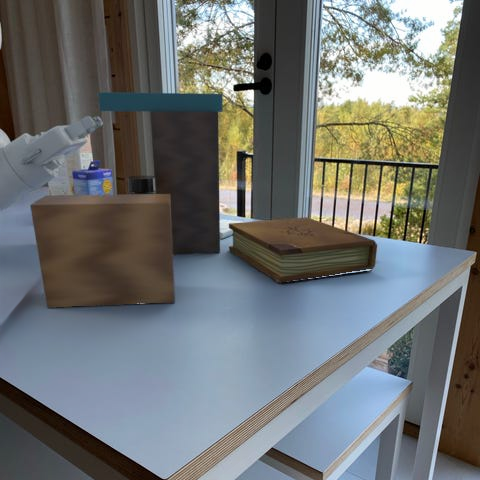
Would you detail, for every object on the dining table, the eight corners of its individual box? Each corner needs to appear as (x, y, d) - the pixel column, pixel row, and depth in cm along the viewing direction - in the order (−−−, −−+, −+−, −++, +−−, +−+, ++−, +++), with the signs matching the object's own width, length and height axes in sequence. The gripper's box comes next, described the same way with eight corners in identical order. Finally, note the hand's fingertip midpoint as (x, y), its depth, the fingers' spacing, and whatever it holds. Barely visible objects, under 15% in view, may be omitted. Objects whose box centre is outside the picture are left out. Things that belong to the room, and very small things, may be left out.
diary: (374, 272, 84) (378, 240, 81) (279, 284, 77) (281, 250, 75) (308, 242, 103) (310, 216, 101) (228, 250, 97) (228, 222, 94)
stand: (159, 254, 94) (150, 111, 83) (160, 244, 101) (152, 111, 91) (220, 253, 95) (218, 111, 85) (216, 243, 102) (214, 112, 92)
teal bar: (100, 110, 85) (98, 92, 83) (102, 111, 87) (100, 93, 86) (222, 111, 87) (222, 93, 86) (221, 111, 90) (221, 94, 89)
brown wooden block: (47, 308, 67) (29, 204, 61) (59, 289, 74) (45, 195, 69) (174, 303, 69) (169, 202, 64) (174, 285, 77) (170, 193, 71)
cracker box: (98, 203, 148) (90, 131, 139) (85, 206, 142) (76, 132, 134) (64, 200, 153) (54, 130, 145) (50, 203, 148) (39, 131, 139)
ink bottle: (146, 234, 110) (143, 180, 105) (118, 229, 114) (113, 178, 109) (172, 226, 118) (170, 176, 113) (145, 222, 122) (141, 174, 117)
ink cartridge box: (92, 220, 124) (85, 162, 118) (76, 218, 126) (68, 161, 120) (116, 214, 132) (111, 159, 126) (101, 212, 134) (95, 158, 128)
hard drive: (248, 229, 116) (222, 239, 106) (220, 225, 119) (192, 235, 109) (249, 222, 115) (222, 232, 105) (220, 219, 119) (192, 228, 109)
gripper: (4, 147, 77) (74, 101, 76) (37, 141, 96) (94, 104, 94) (29, 181, 79) (98, 137, 78) (57, 169, 98) (113, 133, 97)
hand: (96, 119), depth 86 cm, fingers open, 8 cm apart
